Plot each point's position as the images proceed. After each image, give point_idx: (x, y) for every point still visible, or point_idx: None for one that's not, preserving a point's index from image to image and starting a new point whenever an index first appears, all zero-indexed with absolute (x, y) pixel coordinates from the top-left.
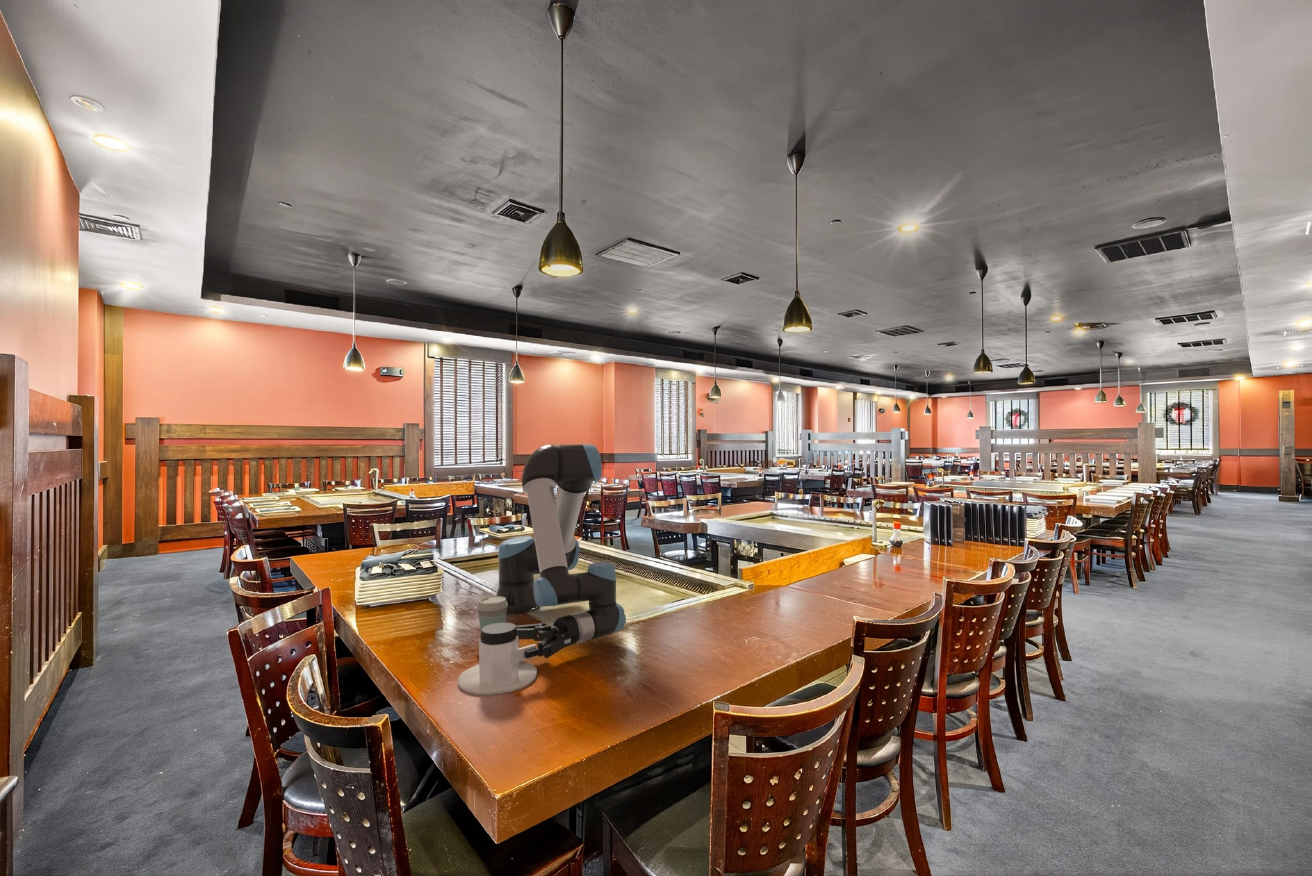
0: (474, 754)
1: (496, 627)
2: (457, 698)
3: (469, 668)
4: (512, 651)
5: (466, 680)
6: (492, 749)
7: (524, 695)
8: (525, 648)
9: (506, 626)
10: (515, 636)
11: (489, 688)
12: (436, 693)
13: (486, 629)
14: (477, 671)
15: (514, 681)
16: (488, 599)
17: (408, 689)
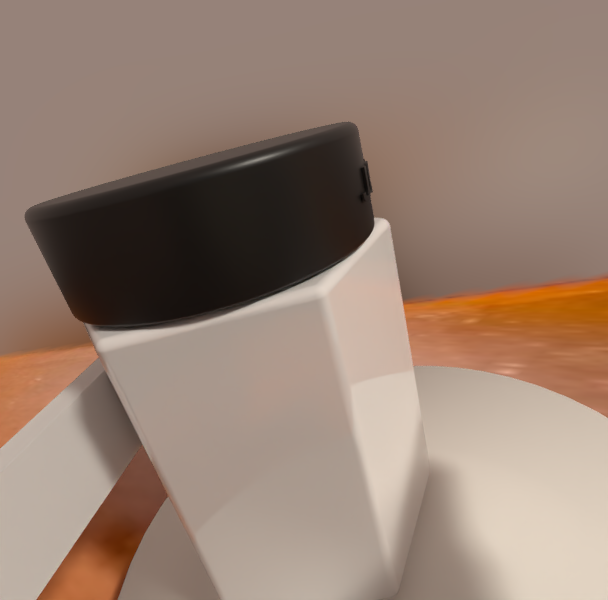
0: (62, 356)
1: (221, 154)
2: None
3: None
4: (97, 360)
5: (425, 387)
6: (30, 378)
7: (76, 558)
8: (11, 444)
9: (149, 175)
10: (62, 292)
11: None
12: (421, 333)
13: (256, 143)
14: (530, 448)
15: (196, 555)
16: None
17: (518, 290)
